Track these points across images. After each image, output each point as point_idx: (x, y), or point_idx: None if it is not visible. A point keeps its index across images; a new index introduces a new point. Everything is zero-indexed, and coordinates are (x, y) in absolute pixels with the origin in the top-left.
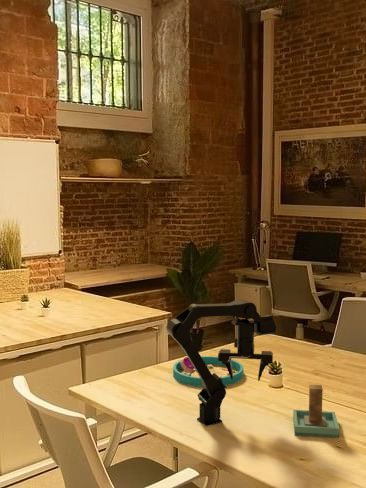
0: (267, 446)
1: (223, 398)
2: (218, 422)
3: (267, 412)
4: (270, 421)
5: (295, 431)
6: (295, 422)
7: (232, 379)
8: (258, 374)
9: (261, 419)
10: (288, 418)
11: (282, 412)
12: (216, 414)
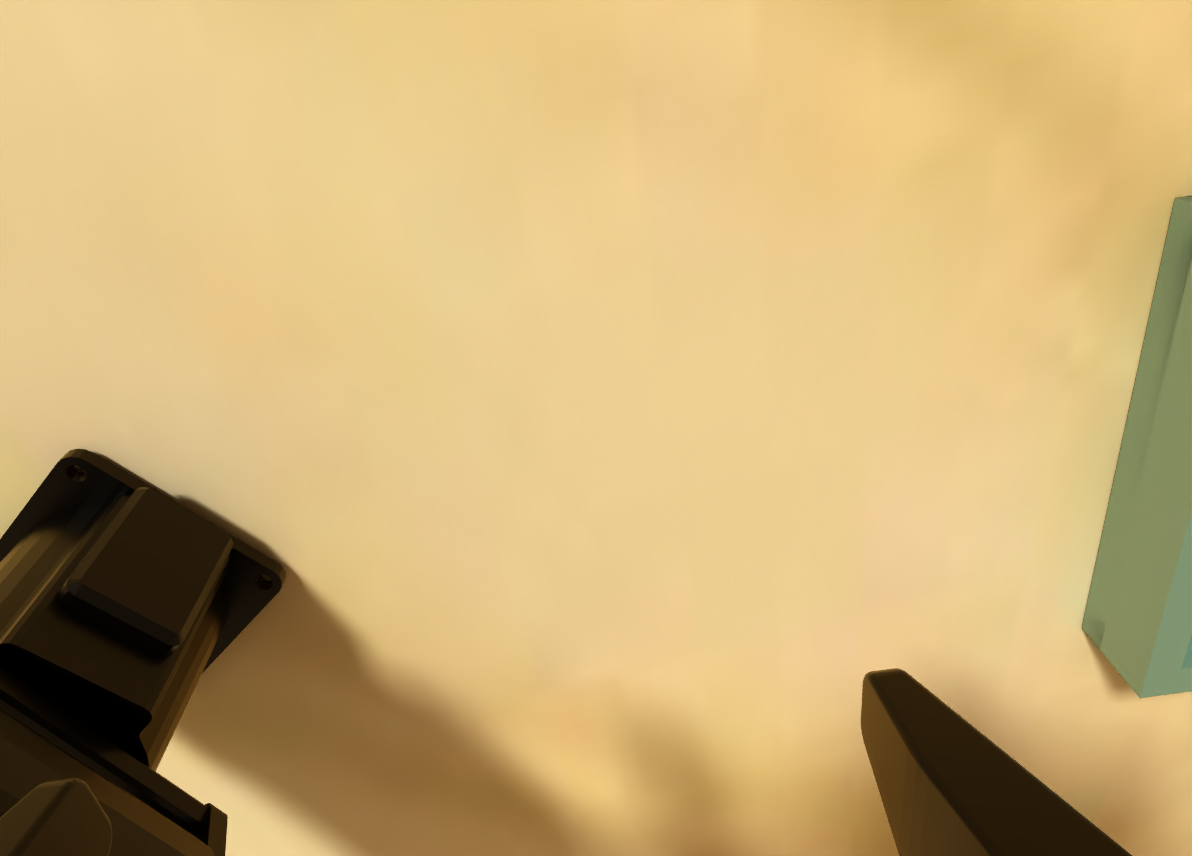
0: (816, 838)
1: (207, 852)
2: (257, 613)
3: (816, 96)
4: (853, 391)
5: (1113, 656)
6: (1174, 615)
7: (106, 850)
8: (951, 852)
9: (738, 365)
10: (1103, 235)
11: (1054, 26)
12: (197, 677)
